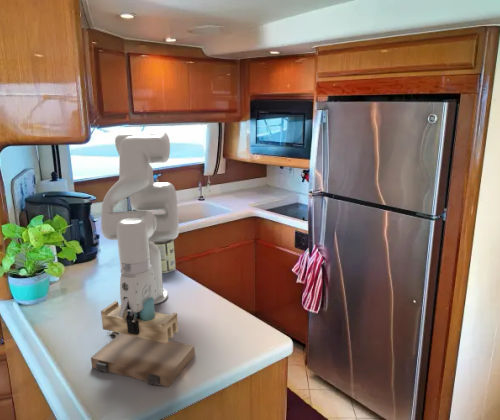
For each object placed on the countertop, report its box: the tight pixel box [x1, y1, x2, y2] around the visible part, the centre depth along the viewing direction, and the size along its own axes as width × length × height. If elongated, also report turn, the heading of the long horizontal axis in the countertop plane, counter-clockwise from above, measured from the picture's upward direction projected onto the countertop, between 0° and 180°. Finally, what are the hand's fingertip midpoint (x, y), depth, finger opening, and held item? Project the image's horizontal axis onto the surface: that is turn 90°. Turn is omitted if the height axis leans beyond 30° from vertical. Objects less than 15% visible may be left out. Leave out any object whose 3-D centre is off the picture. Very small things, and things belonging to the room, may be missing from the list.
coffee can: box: [152, 239, 176, 274], centre depth 174 cm, size 10×10×14 cm
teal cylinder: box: [139, 297, 156, 321], centre depth 108 cm, size 4×4×5 cm
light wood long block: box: [100, 300, 179, 343], centre depth 110 cm, size 20×6×6 cm, turn 70°
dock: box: [90, 333, 196, 388], centre depth 113 cm, size 24×15×3 cm, turn 70°
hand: (141, 326), depth 111 cm, fingers closed on light wood long block, 6 cm apart
